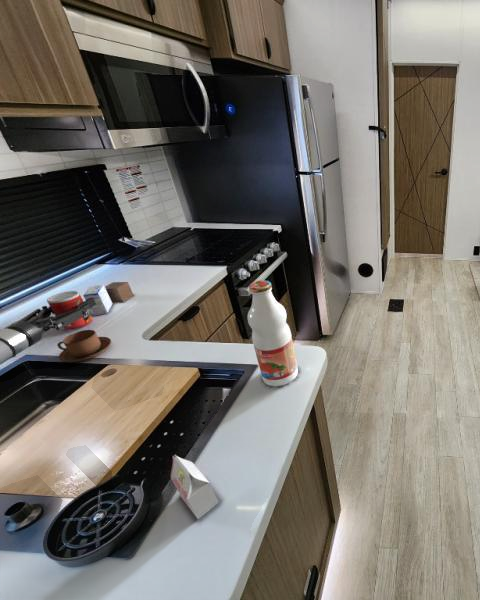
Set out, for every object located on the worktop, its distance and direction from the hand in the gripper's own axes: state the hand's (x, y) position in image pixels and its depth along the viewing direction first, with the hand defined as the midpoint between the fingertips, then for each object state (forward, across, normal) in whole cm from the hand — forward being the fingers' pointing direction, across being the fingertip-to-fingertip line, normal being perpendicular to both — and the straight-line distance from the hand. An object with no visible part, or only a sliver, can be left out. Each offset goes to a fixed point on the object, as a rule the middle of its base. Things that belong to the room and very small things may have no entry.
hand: (81, 301), depth 115 cm
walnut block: (+15, 0, -7) cm, 17 cm away
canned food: (-5, 0, -7) cm, 8 cm away
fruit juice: (-33, +78, -8) cm, 85 cm away
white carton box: (-67, +73, -8) cm, 99 cm away
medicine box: (+6, 0, -7) cm, 10 cm away
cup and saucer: (-21, +16, -7) cm, 27 cm away
